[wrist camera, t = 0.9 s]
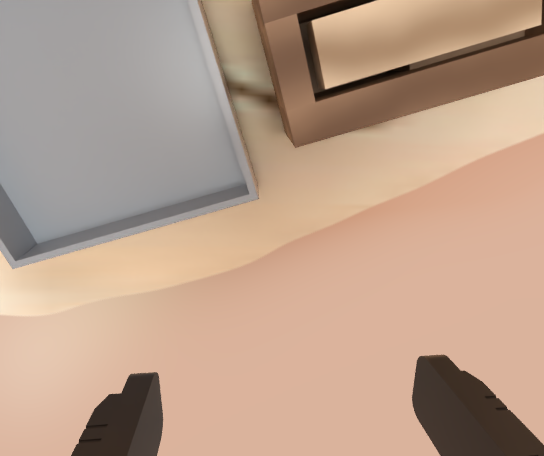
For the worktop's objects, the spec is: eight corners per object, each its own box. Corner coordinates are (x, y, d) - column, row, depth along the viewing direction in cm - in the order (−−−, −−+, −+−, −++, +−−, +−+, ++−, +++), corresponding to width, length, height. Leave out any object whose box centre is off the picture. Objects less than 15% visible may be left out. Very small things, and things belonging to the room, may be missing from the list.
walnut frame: (251, 1, 27) (252, -25, 20) (506, -80, 26) (597, -136, 19) (285, 132, 31) (295, 147, 24) (507, 67, 30) (582, 64, 23)
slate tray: (-125, -15, 25) (-189, -32, 21) (166, -114, 24) (150, -149, 20) (38, 248, 34) (12, 269, 30) (257, 185, 32) (258, 198, 29)
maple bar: (305, 26, 23) (311, 20, 21) (514, -39, 23) (543, -52, 20) (318, 88, 25) (325, 89, 23) (513, 29, 24) (541, 24, 22)
